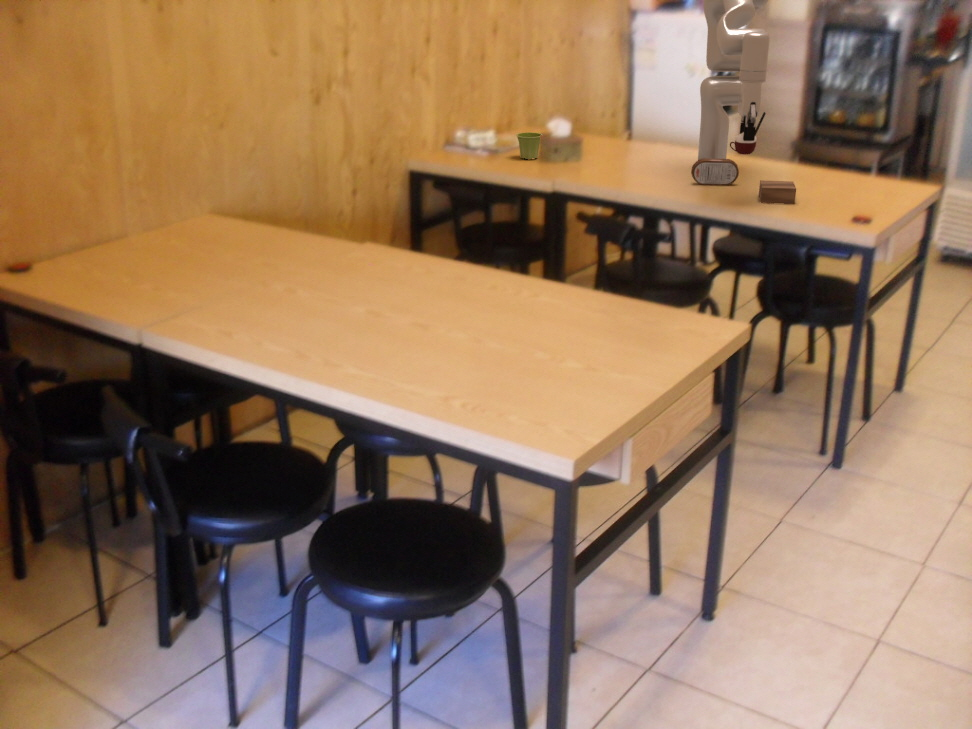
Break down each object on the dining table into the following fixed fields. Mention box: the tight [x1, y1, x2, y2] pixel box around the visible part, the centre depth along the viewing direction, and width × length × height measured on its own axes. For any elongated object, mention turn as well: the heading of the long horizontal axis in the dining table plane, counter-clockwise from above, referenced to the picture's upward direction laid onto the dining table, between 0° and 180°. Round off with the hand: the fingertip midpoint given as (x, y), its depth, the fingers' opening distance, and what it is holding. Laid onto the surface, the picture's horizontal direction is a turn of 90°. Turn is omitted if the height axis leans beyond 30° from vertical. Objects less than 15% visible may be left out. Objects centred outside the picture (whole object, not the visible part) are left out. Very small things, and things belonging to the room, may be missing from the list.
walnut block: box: [758, 180, 797, 205], centre depth 317 cm, size 10×10×5 cm
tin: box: [690, 158, 740, 186], centre depth 335 cm, size 15×3×8 cm, turn 84°
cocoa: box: [729, 111, 767, 155], centre depth 308 cm, size 10×6×12 cm, turn 62°
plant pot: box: [516, 131, 543, 160], centre depth 375 cm, size 9×9×9 cm
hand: (746, 137), depth 308 cm, fingers closed on cocoa, 5 cm apart
